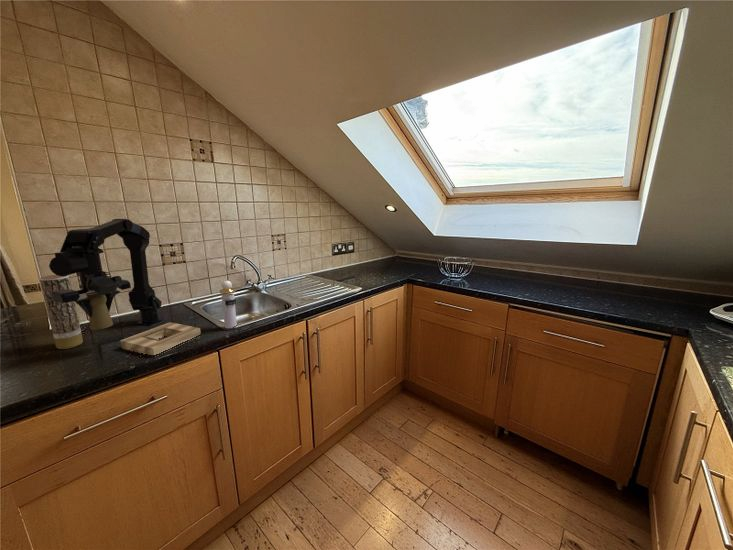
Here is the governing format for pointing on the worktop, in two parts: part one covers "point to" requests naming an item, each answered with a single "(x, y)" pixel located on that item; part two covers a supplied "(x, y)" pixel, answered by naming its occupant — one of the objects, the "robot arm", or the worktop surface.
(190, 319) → the worktop surface
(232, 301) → the perfume bottle
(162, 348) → the socket board
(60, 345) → the grey bark cylinder
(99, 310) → the cork
